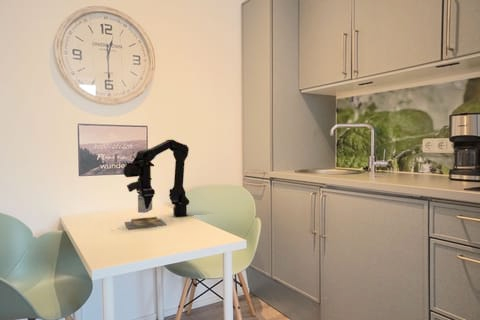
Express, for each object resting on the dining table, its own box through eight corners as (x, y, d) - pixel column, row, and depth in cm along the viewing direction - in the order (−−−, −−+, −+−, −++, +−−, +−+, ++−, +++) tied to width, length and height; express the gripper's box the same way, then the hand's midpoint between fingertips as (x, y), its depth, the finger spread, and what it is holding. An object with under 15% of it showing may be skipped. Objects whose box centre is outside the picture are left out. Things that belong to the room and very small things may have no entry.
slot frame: (156, 220, 169) (156, 216, 169) (159, 223, 162) (159, 219, 162) (131, 222, 164) (131, 218, 164) (133, 226, 156) (133, 222, 156)
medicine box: (144, 209, 167) (143, 192, 167) (152, 209, 166) (152, 192, 166) (137, 212, 159) (137, 194, 159) (146, 212, 159) (146, 195, 158)
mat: (160, 219, 174) (160, 218, 174) (167, 226, 159) (167, 224, 159) (124, 223, 166) (124, 221, 166) (128, 229, 152) (128, 228, 152)
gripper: (125, 175, 167) (126, 205, 168) (130, 178, 150) (130, 211, 151) (147, 174, 172) (148, 203, 172) (154, 177, 155) (155, 209, 155)
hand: (145, 207), depth 163 cm, fingers closed on medicine box, 9 cm apart
